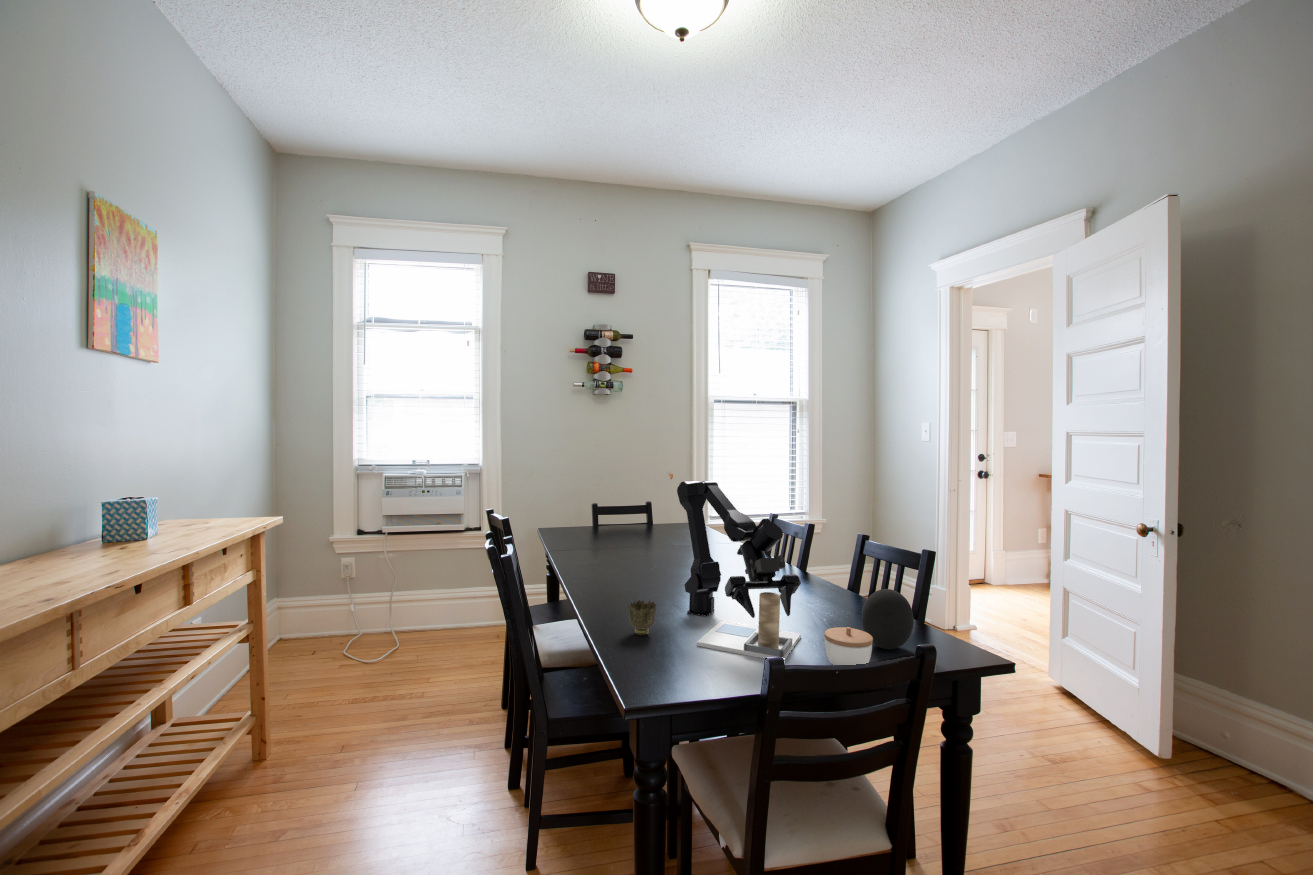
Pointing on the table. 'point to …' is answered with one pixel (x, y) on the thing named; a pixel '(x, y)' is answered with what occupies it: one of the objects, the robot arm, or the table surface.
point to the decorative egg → (887, 618)
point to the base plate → (746, 640)
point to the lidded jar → (848, 646)
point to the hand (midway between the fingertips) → (771, 616)
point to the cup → (642, 616)
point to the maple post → (769, 620)
